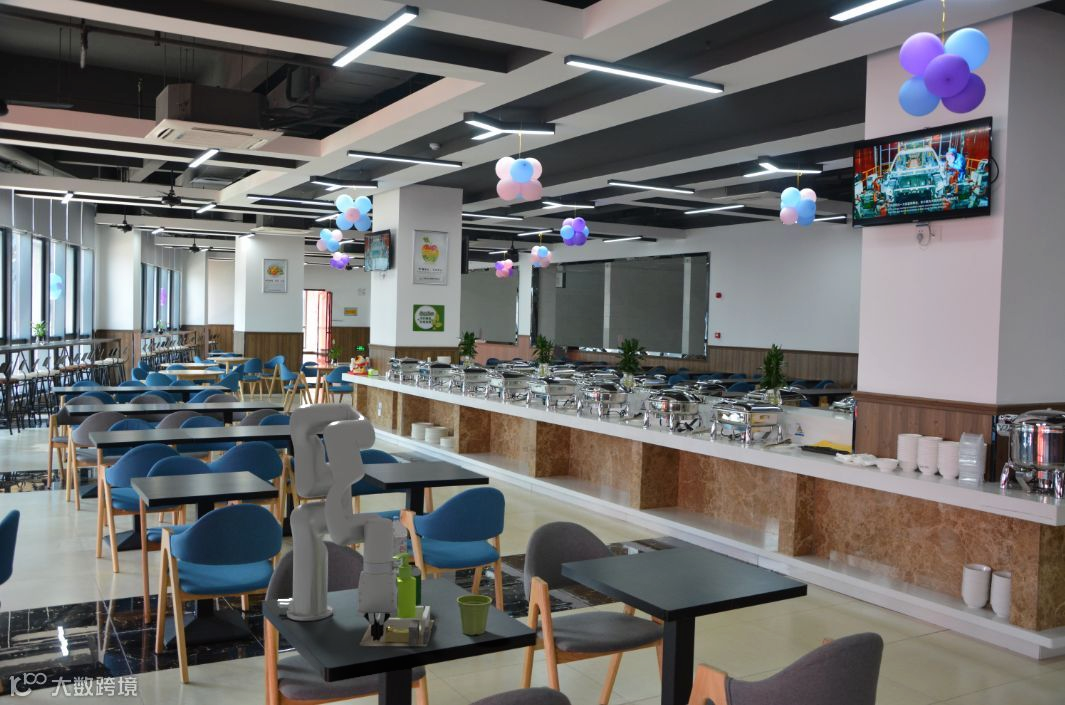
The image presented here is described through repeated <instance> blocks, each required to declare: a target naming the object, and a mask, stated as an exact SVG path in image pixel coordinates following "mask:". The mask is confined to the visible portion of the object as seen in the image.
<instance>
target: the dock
mask: <svg viewBox="0 0 1065 705" xmlns="http://www.w3.org/2000/svg"><path fill="white" fill-rule="evenodd" d="M424 607H425V608H424ZM379 619H380V613H378V615H377V617H376V620H377V622H378V621H379ZM411 620H419V622H421V635H423V632H424V629H425V627H428V625H429V622H430V620H431V605H428V606H427V605H426V606H424V605H421V606H416V613H415V618H393V617H391V618H389V619H388V620H387V621H385V622H384V633H383V635H385V631H386V627H387V626H393V629H409V626H410V623H411Z"/></svg>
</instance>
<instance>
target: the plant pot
mask: <svg viewBox="0 0 1065 705" xmlns="http://www.w3.org/2000/svg"><path fill="white" fill-rule="evenodd" d="M456 602H457V603H458V607H459V612H460V621H461V630H462V633H463V634H465V635H469V636H475V635H483V634H484V633H486V630H487V628H486V627H487V623H488V622H487V621H488V616H489V610H490V607H491V603H492V602H493V598H492V597H489V596H487V595H482V594H480V595H479V594H468V595H467V594H466V595H461V596H459V597H457V598H456Z"/></svg>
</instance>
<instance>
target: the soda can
mask: <svg viewBox="0 0 1065 705" xmlns="http://www.w3.org/2000/svg"><path fill="white" fill-rule="evenodd" d="M410 565H411V564H410ZM422 572H423V571H422V570H421V568H419V566H417V565H411V577H414V578H416V606H422V575H423V574H422ZM396 574H397V577H399V568H398V569H397V570H396Z"/></svg>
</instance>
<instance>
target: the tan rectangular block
mask: <svg viewBox="0 0 1065 705" xmlns="http://www.w3.org/2000/svg"><path fill="white" fill-rule="evenodd" d="M417 634H418V630H417ZM385 642H409V629H393V626H387V627H386V631H385Z"/></svg>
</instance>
